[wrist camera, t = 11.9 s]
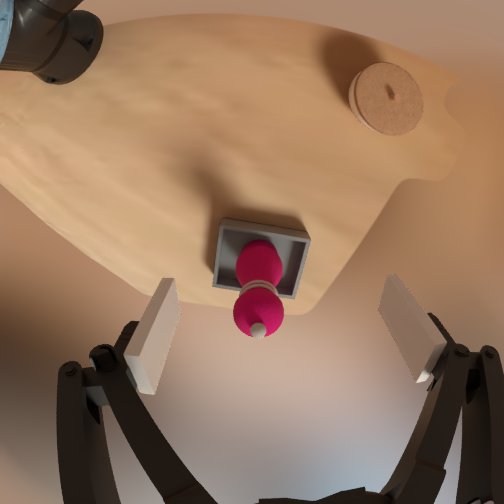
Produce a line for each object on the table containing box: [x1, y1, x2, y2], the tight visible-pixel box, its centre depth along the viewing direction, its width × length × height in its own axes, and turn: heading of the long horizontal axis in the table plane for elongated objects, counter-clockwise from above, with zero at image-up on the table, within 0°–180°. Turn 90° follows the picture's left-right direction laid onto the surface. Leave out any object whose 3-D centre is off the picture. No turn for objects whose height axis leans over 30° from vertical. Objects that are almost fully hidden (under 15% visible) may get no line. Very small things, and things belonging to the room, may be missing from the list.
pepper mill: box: [233, 239, 284, 339], centre depth 38 cm, size 7×7×20 cm
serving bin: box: [212, 218, 311, 299], centre depth 47 cm, size 14×11×4 cm
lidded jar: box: [348, 62, 423, 136], centre depth 33 cm, size 11×11×9 cm
